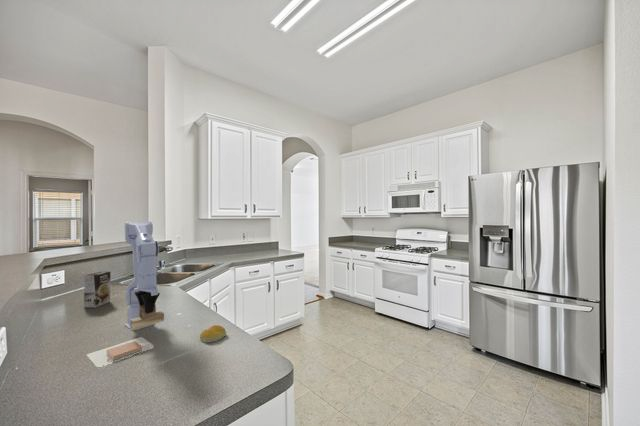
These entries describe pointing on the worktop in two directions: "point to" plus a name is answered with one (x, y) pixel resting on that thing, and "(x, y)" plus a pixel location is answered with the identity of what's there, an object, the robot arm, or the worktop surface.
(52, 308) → the worktop surface
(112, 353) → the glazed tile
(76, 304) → the worktop surface
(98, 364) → the rubber mat
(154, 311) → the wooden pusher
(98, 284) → the coffee box
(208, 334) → the bread roll
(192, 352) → the worktop surface
